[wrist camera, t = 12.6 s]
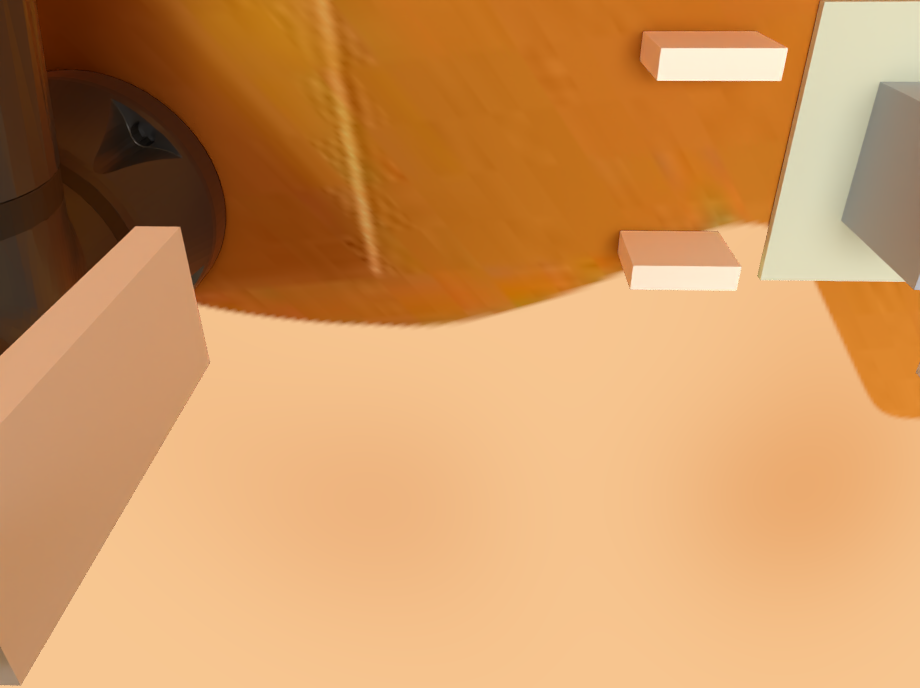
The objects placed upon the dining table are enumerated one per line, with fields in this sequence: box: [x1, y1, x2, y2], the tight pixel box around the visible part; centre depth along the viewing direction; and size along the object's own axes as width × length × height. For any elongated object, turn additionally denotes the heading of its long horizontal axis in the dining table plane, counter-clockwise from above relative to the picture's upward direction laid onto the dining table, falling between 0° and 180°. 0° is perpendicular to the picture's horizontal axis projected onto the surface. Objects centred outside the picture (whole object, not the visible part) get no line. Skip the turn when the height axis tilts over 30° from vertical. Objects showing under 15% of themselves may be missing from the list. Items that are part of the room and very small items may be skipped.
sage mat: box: [758, 0, 920, 282], centre depth 42 cm, size 12×16×1 cm
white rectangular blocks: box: [618, 31, 788, 291], centre depth 41 cm, size 6×13×5 cm, turn 0°
